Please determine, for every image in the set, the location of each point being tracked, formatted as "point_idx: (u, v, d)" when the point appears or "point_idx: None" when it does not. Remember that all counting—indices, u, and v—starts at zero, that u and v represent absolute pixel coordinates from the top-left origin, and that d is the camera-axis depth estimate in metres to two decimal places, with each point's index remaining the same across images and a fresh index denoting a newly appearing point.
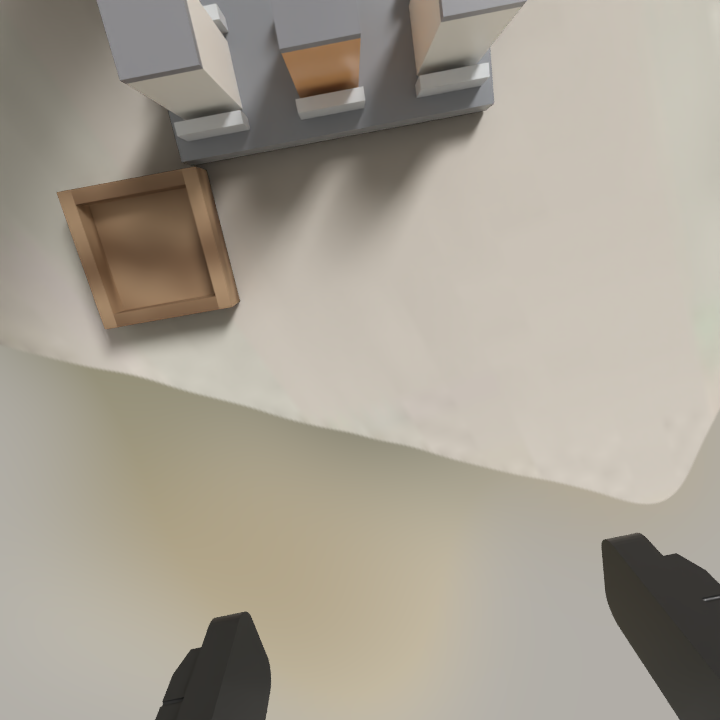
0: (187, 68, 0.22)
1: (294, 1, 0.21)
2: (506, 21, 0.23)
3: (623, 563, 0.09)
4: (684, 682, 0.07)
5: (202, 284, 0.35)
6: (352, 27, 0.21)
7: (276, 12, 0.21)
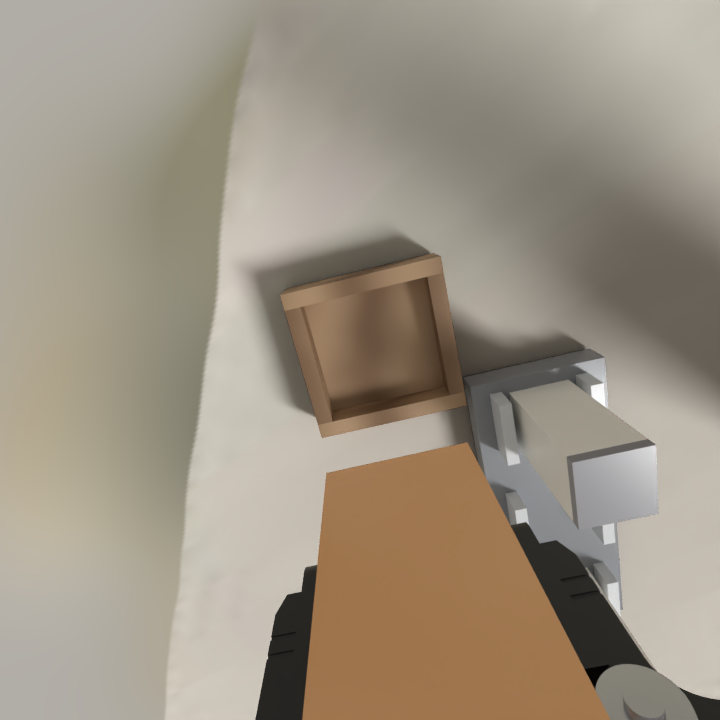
0: (576, 517, 0.23)
1: None
2: None
3: None
4: None
5: (341, 391, 0.31)
6: None
7: None
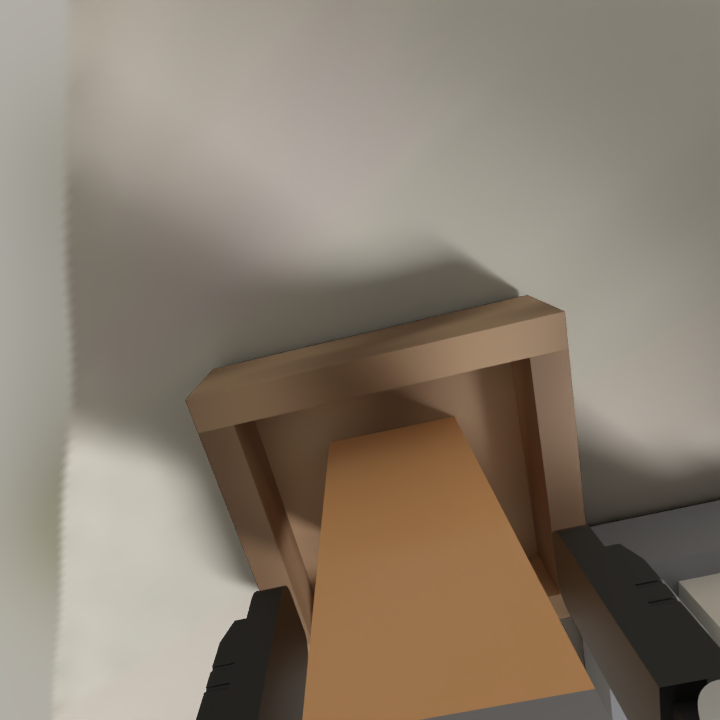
0: None
1: None
2: None
3: (568, 552, 0.09)
4: (616, 661, 0.08)
5: None
6: None
7: None
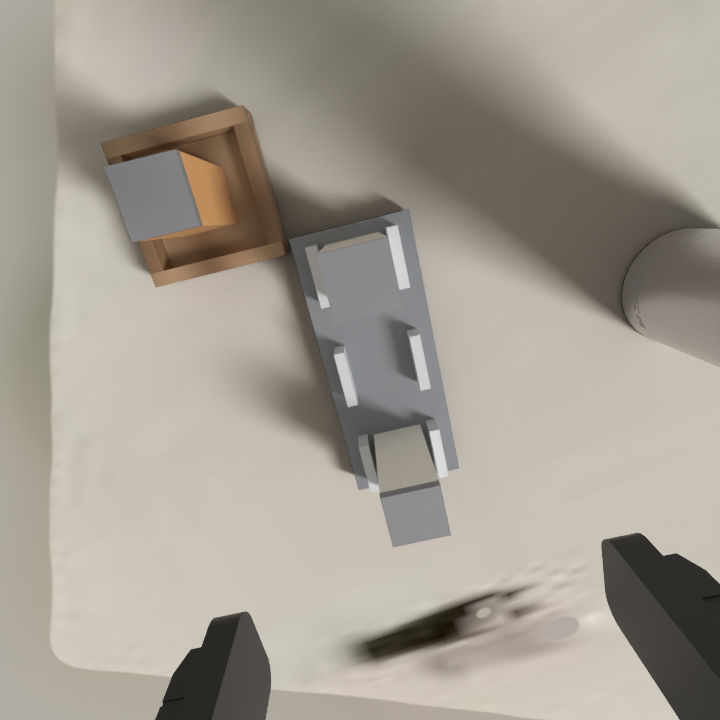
0: (331, 312, 0.25)
1: (143, 181, 0.24)
2: None
3: (623, 563, 0.09)
4: (685, 682, 0.07)
5: (177, 248, 0.34)
6: (134, 234, 0.25)
7: (131, 164, 0.24)
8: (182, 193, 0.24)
